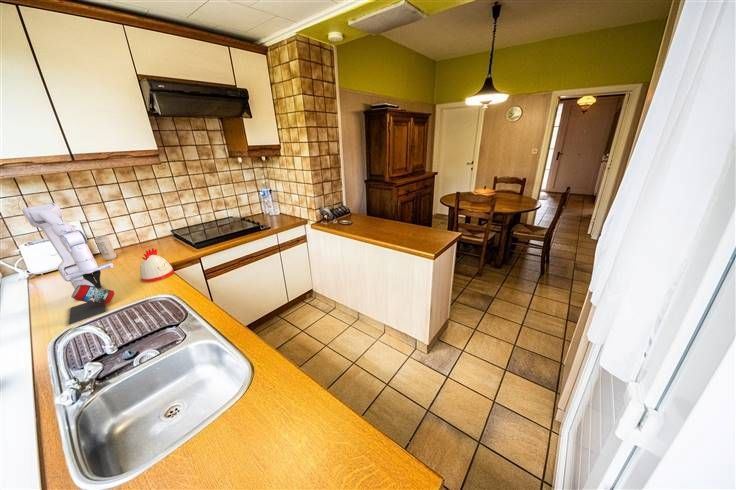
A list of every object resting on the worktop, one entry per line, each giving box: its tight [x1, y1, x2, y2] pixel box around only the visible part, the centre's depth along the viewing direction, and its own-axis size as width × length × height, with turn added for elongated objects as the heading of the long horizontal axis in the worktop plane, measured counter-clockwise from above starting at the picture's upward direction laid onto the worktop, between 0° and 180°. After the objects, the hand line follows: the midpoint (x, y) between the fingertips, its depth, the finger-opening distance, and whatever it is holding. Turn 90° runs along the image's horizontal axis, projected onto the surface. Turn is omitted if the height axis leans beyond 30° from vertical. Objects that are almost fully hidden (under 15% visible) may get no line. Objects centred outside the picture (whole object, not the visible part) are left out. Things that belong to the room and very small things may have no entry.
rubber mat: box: [68, 302, 106, 325], centre depth 116 cm, size 16×11×1 cm
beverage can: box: [71, 285, 115, 306], centre depth 115 cm, size 7×7×12 cm
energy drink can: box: [94, 235, 117, 262], centre depth 165 cm, size 6×6×15 cm
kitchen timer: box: [139, 247, 175, 283], centre depth 140 cm, size 14×14×15 cm
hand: (99, 287), depth 116 cm, fingers closed, pressing on beverage can
